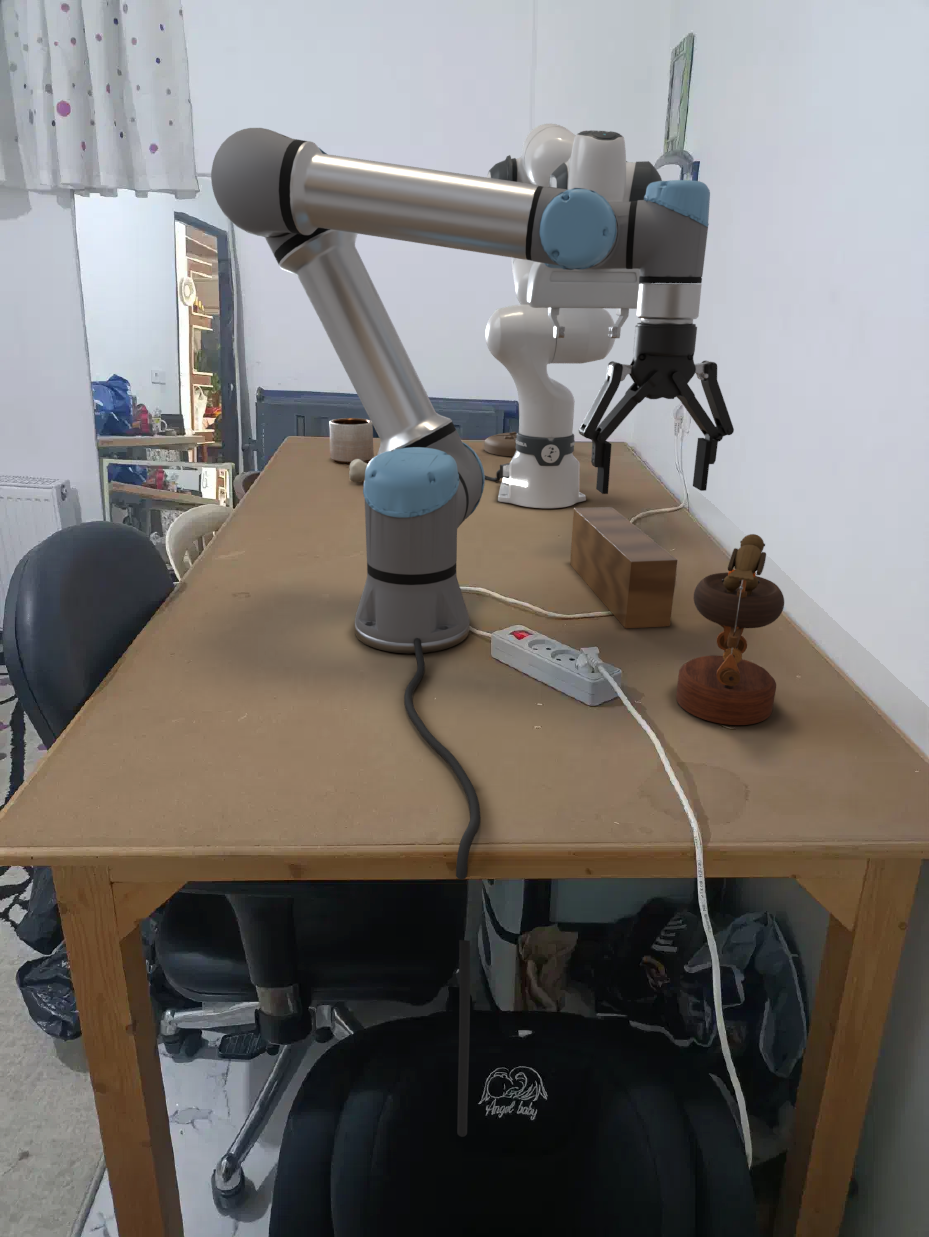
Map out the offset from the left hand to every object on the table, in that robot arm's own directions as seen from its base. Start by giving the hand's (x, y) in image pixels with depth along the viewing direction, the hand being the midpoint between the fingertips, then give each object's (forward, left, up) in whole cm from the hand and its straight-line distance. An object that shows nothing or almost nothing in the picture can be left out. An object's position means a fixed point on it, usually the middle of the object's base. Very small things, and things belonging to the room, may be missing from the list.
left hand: (651, 490), depth 113 cm
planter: (+97, +63, -18) cm, 117 cm away
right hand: (+35, +9, +17) cm, 40 cm away
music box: (-25, -7, -18) cm, 31 cm away
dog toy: (+75, +49, -18) cm, 91 cm away
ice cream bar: (+110, +20, -18) cm, 113 cm away
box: (+9, +3, -18) cm, 21 cm away
